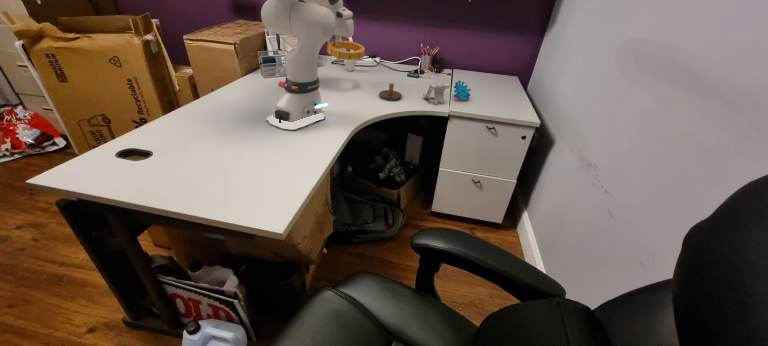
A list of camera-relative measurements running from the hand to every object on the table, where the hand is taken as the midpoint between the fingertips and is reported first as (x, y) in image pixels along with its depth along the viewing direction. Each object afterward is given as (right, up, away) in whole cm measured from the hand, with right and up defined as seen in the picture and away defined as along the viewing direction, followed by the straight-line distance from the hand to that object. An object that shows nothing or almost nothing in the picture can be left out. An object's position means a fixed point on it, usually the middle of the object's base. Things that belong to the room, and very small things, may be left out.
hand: (333, 44), depth 148 cm
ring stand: (+26, -24, 0) cm, 36 cm away
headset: (+2, 0, +31) cm, 31 cm away
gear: (+60, -24, +5) cm, 65 cm away
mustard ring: (+6, -4, -1) cm, 8 cm away
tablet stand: (+47, -26, 0) cm, 53 cm away
